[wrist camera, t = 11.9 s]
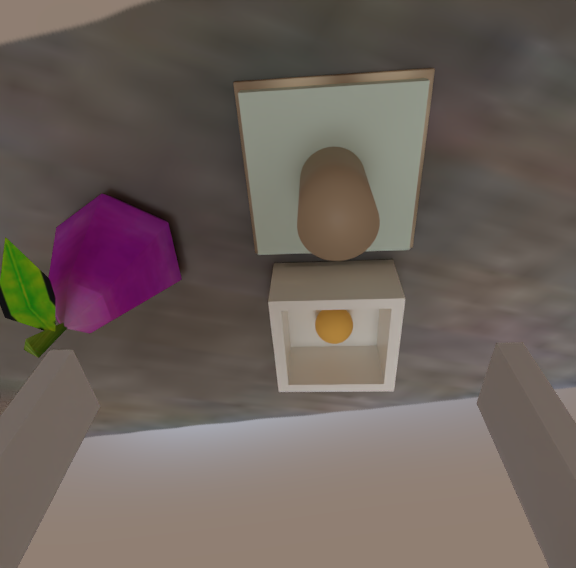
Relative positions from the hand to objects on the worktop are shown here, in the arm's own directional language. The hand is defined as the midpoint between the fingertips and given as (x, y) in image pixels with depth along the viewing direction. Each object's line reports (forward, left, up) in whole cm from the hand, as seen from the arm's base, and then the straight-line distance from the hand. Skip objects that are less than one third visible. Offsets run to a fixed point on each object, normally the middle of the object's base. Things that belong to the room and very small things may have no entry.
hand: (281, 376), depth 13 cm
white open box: (+3, -15, -23) cm, 28 cm away
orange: (+3, -15, -20) cm, 26 cm away
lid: (+3, -1, -22) cm, 23 cm away
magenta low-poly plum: (-16, -7, -23) cm, 29 cm away
